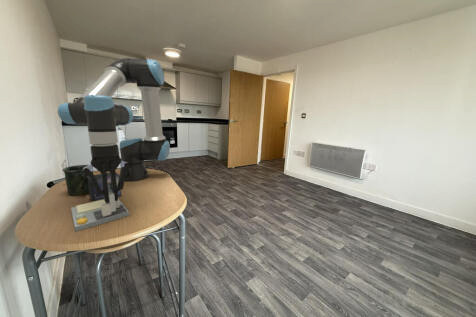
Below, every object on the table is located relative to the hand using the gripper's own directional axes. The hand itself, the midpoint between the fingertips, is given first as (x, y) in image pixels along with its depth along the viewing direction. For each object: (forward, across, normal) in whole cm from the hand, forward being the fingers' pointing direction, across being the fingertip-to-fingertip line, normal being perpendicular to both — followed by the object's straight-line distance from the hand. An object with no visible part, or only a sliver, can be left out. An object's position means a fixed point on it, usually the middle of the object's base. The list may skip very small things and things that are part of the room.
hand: (112, 210), depth 66 cm
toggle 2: (+1, -1, -4) cm, 4 cm away
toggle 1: (+1, +2, 0) cm, 2 cm away
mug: (+3, +6, -35) cm, 36 cm away
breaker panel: (+3, +3, -6) cm, 8 cm away
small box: (+3, -2, -22) cm, 22 cm away
